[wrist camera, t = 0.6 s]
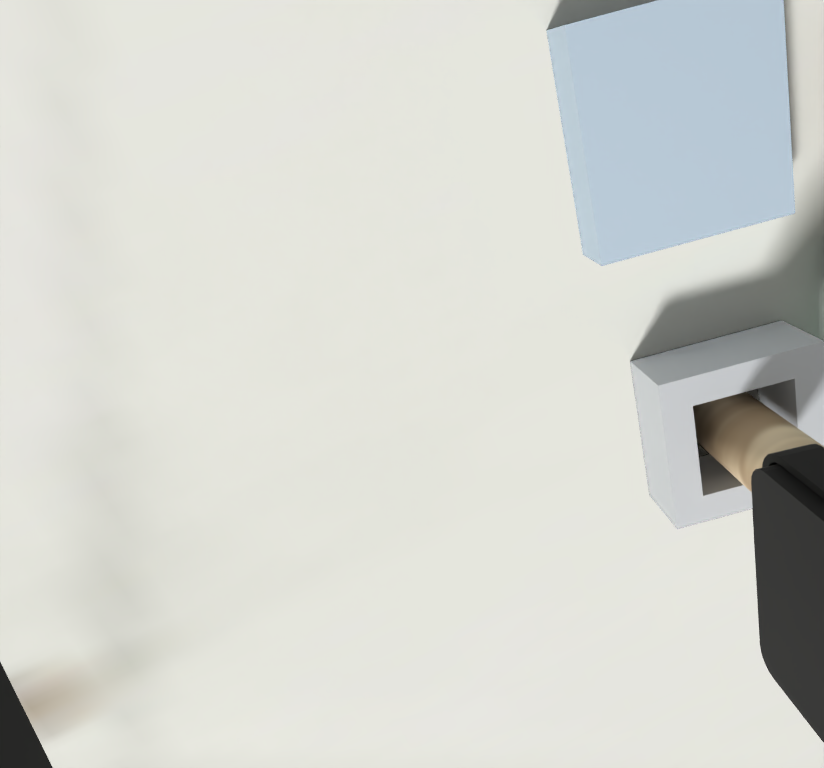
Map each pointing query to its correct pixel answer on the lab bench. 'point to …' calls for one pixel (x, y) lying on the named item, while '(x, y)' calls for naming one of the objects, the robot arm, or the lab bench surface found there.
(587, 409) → the lab bench surface
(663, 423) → the socket block
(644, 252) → the board
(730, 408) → the dowel
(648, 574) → the lab bench surface
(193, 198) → the lab bench surface
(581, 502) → the lab bench surface
